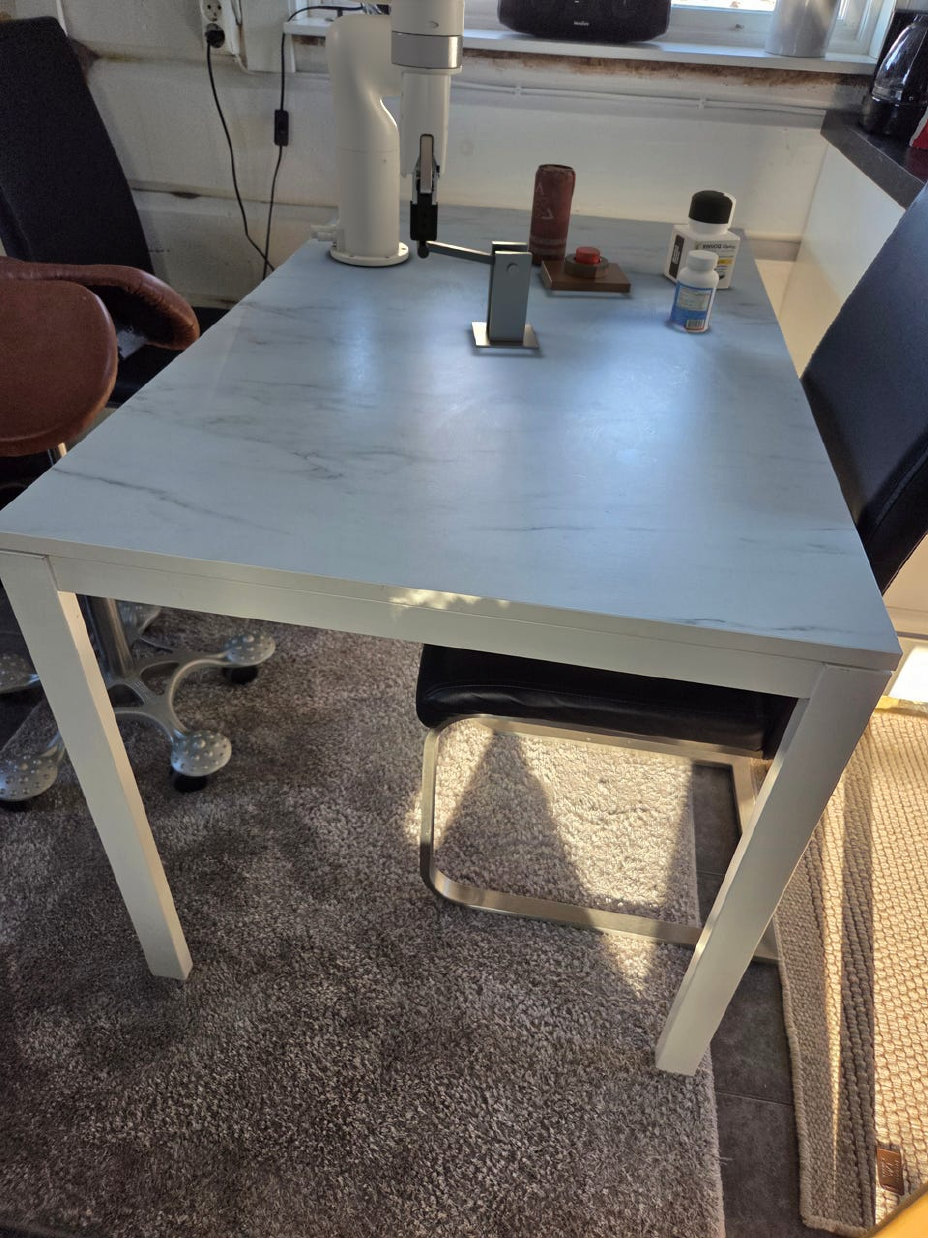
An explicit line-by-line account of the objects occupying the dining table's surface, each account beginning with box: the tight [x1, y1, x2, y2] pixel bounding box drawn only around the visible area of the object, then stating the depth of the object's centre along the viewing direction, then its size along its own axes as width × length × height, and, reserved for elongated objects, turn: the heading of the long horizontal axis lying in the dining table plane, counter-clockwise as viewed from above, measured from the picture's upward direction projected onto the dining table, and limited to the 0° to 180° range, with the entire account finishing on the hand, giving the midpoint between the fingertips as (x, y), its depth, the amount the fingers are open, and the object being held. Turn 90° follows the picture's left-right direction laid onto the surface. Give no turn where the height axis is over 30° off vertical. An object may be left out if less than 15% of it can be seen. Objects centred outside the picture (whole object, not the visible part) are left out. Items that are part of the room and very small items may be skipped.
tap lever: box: [415, 241, 515, 266], centre depth 101 cm, size 13×6×2 cm, turn 94°
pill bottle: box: [669, 250, 719, 334], centre depth 113 cm, size 6×5×10 cm
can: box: [527, 163, 577, 267], centre depth 132 cm, size 6×6×14 cm
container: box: [663, 189, 741, 290], centre depth 128 cm, size 8×8×13 cm
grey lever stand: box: [471, 241, 540, 350], centre depth 104 cm, size 8×8×12 cm
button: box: [575, 246, 601, 264], centre depth 125 cm, size 4×4×2 cm
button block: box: [540, 252, 632, 294], centre depth 126 cm, size 12×10×4 cm
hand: (423, 238), depth 99 cm, fingers closed
